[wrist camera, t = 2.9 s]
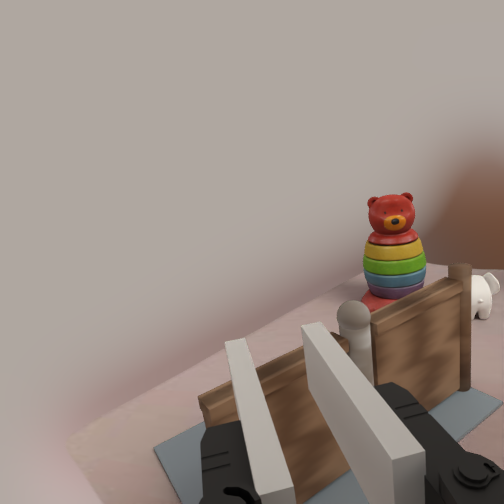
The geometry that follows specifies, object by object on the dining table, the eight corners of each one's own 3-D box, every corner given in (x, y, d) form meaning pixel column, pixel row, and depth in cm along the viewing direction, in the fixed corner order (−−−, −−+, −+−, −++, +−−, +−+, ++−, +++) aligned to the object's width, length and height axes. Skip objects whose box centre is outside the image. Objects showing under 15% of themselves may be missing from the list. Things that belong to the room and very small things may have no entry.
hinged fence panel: (343, 453, 34) (331, 331, 31) (359, 466, 32) (348, 339, 29) (227, 534, 28) (197, 396, 25) (239, 555, 27) (209, 410, 24)
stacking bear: (360, 317, 60) (351, 204, 55) (362, 291, 69) (354, 193, 64) (436, 317, 56) (434, 196, 51) (427, 290, 65) (425, 186, 61)
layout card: (363, 340, 53) (363, 338, 53) (502, 404, 38) (502, 401, 38) (154, 449, 39) (153, 446, 39) (243, 622, 24) (243, 618, 24)
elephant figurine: (486, 300, 59) (487, 264, 57) (511, 325, 51) (512, 284, 50) (439, 303, 60) (438, 268, 58) (456, 328, 53) (456, 287, 51)
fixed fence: (453, 379, 42) (453, 248, 38) (477, 389, 40) (479, 253, 36) (343, 456, 35) (328, 302, 30) (365, 475, 32) (352, 312, 28)
